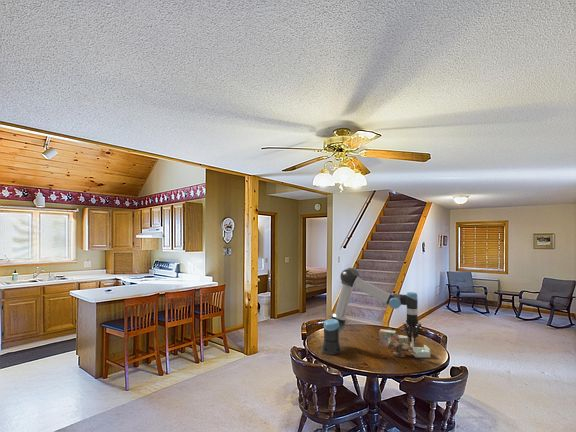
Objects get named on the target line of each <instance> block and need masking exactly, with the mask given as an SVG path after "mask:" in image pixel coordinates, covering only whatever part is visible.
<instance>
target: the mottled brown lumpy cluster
mask: <svg viewBox="0 0 576 432" xmlns="http://www.w3.org/2000/svg"><path fill="white" fill-rule="evenodd" d="M394 345H395V346H398V345H402V348H404V349H407V350H406V351H408V352H409V353H410V354H412V353H413V354H416V353H415V352H414V351H413V348H412V347H411V344H409V343H408V344H405V343H402V342H399V341H396V340H393V339H391V338H388V341H387V345H386V347H385V348H387V349H389V350H392V351H393V350H394V349H395V348H394ZM413 354H412V355H413Z"/></svg>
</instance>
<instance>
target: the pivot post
mask: <svg viewBox="0 0 576 432" xmlns="http://www.w3.org/2000/svg"><path fill="white" fill-rule="evenodd" d="M392 353H393V354H394V355H395V357H396V358H405V354H404V353H403V349H402V345H398V346H396V348H395V351H393V352H392Z"/></svg>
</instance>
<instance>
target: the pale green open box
mask: <svg viewBox="0 0 576 432" xmlns="http://www.w3.org/2000/svg"><path fill="white" fill-rule="evenodd" d="M412 348H413V351H414V352H415V353H416V354H413V353H411V355H412V356H413V357H415V358H419V359H420V358H423V359H424V358H429V359H430V358H431V348H429V347H428V346H427V345H426V344H423V347H418V346H417V347H415V346H414V347H412ZM422 350H426V352H421V351H422Z"/></svg>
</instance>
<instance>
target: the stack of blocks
mask: <svg viewBox="0 0 576 432" xmlns="http://www.w3.org/2000/svg"><path fill="white" fill-rule="evenodd" d="M388 338H391V339H393V340H396V341H399V342H402V343H405V344H408V345H409V337H408V336H407V335H401V334H397V331H396V330H391V329H382V328H381V329H380V330H379V331H378V339H379V347H382V348H387V347H386V345H387V341H388ZM393 349H396V346H395V345H394V348H393ZM403 350H404V351H408V350H407V349H404V348H402V351H403Z"/></svg>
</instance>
